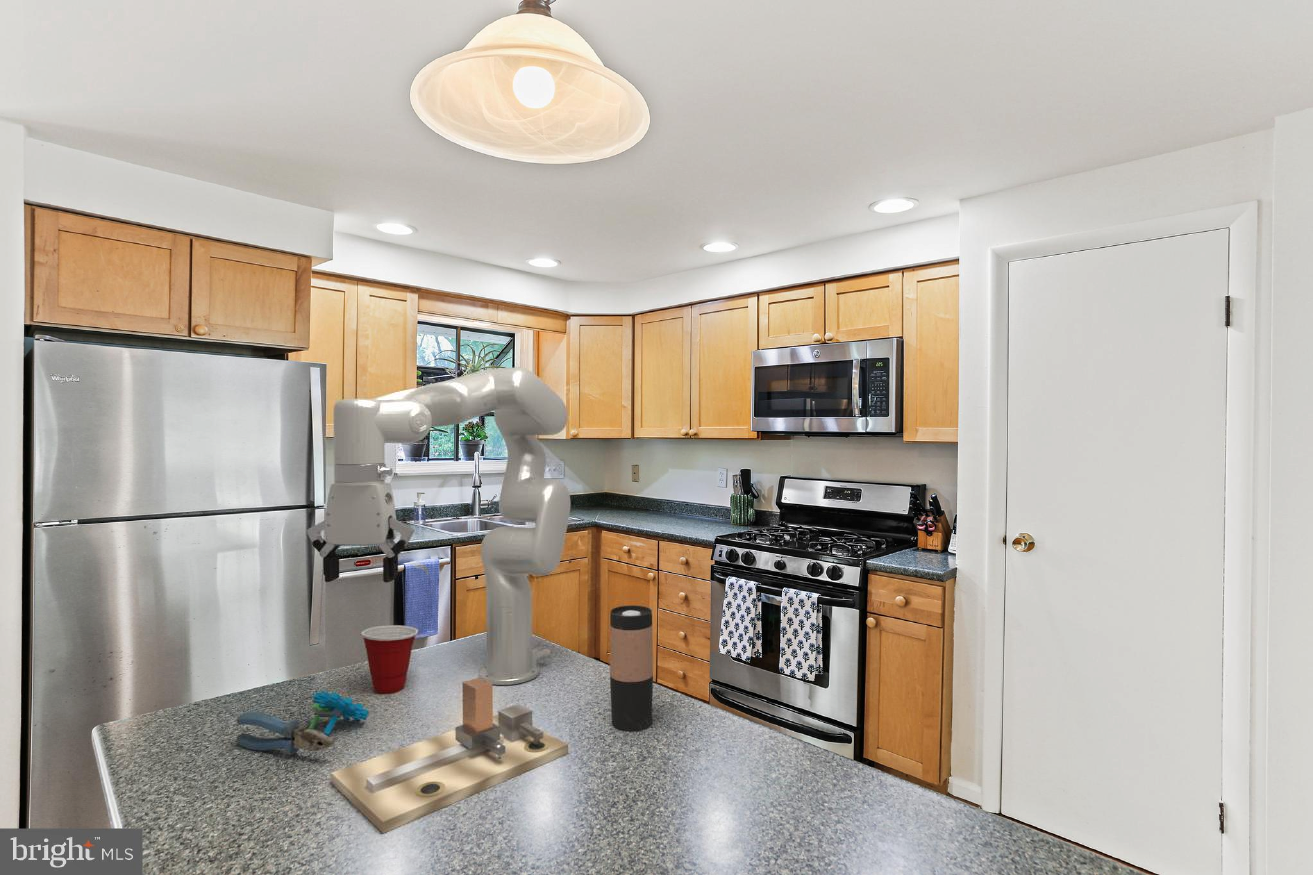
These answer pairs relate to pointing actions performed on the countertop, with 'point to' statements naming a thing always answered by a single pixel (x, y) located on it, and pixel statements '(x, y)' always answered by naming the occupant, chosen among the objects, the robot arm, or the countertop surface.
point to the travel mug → (631, 667)
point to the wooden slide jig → (443, 770)
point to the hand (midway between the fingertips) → (360, 580)
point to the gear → (335, 709)
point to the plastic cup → (389, 656)
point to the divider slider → (479, 718)
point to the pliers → (291, 732)
